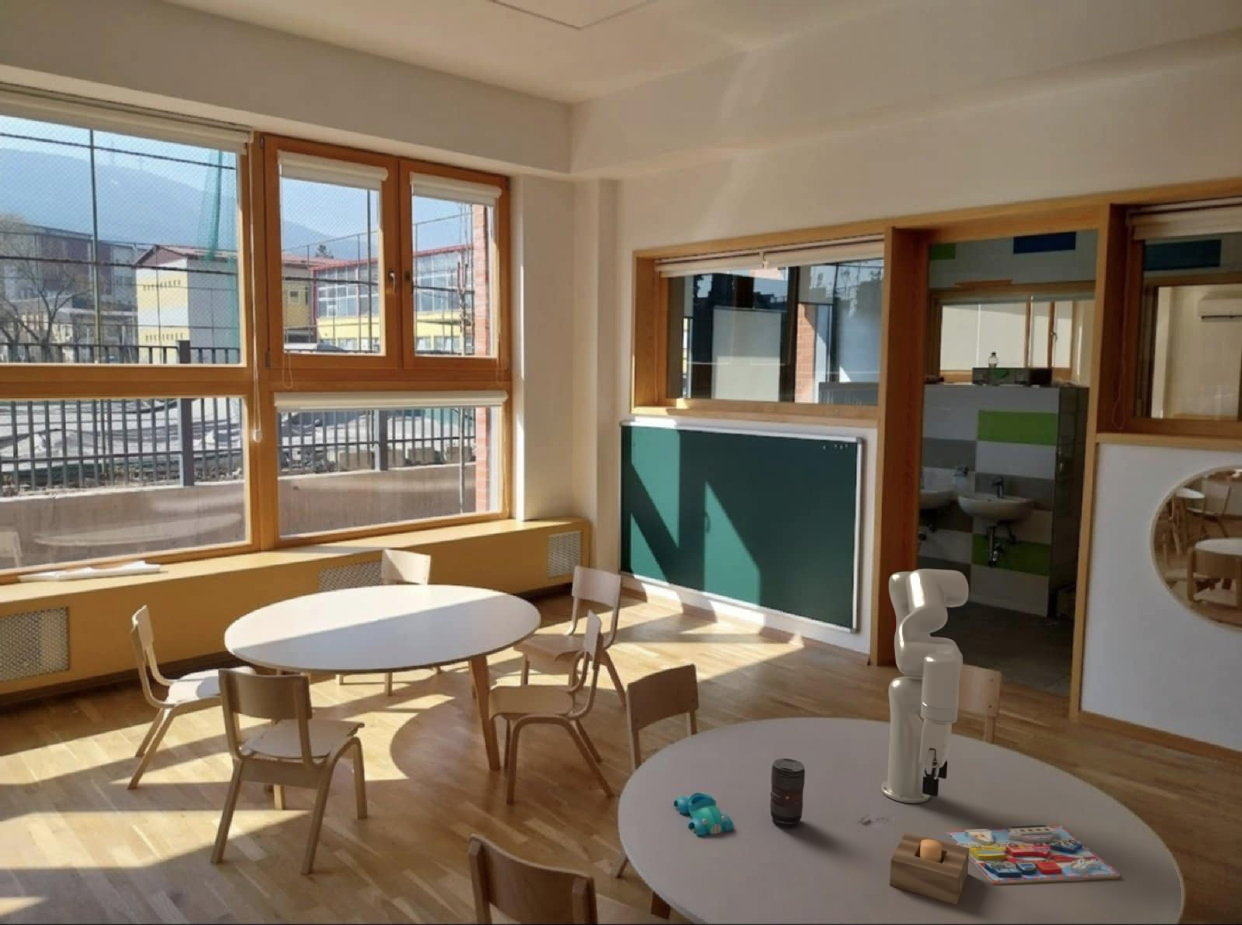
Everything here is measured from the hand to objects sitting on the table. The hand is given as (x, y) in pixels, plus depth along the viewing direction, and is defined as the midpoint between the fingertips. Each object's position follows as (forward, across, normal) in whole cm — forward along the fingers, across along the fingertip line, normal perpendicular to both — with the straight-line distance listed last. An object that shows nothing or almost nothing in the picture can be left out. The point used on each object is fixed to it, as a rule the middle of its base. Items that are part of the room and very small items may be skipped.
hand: (934, 785), depth 203 cm
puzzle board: (+23, -23, +18) cm, 37 cm away
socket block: (+22, 0, 0) cm, 22 cm away
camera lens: (+22, -8, -36) cm, 43 cm away
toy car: (+22, +1, -55) cm, 59 cm away
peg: (+22, 0, 0) cm, 22 cm away
